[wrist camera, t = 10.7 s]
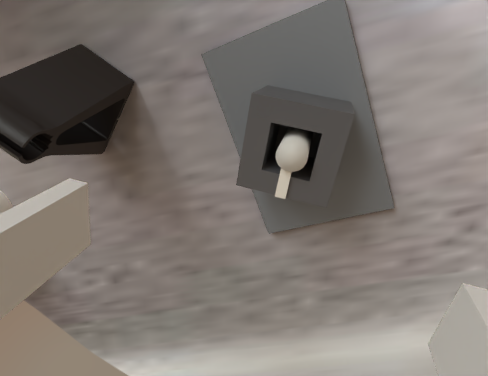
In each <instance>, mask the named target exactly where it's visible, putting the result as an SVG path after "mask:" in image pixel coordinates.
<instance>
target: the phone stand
mask: <svg viewBox="0 0 488 376" xmlns="http://www.w3.org/2000/svg"><path fill="white" fill-rule="evenodd" d="M133 85H134V81H133V80H131V79H130V78H128V77H127V76H126V75H124V74H123V73H121V72H120V71H118V70H117V69H116V68H114V67H113V66H111V65H110V64H109V63H107V62H106V61H104V60H103V59H101V58H100V57H99V56H97V55H96V54H94V53H93V52H92V51H90V50H89V49H87V48H86V47H84V46H83V45H82V44H80V45H78V46H75V47H73V48H71V49H68V50H66V51H63V52H61V53H59V54H56V55H54V56H51V57H49V58H47V59H44V60H42V61H39V62H37V63H35V64H32V65H30V66H27V67H25V68H23V69H20V70H18V71H15V72H13V73H11V74H8V75H6V76H3V77H1V78H0V148H1V149H2V150H4V151H5V152H7V153H8V154H10V155H11V156H13V157H14V158H16V159H17V160H18V161H20V162H21V163H24V164H28V163H31V162H34V161H36V160H38V159H40V158H42V157H45V156H49V155H80V154H102V153H103V152H104V151H105V148H106V146H107V144H108V142H109V139H110V137H111V135H112V132H113V130H114V128H115V126H116V123H117V121H118V120H117V119H118V118H119V116H120V114H121V112H122V110H123V107H124V105H125V103H126V101H127V98H128V96H129V94H130V91H131V89H132V87H133Z"/></svg>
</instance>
